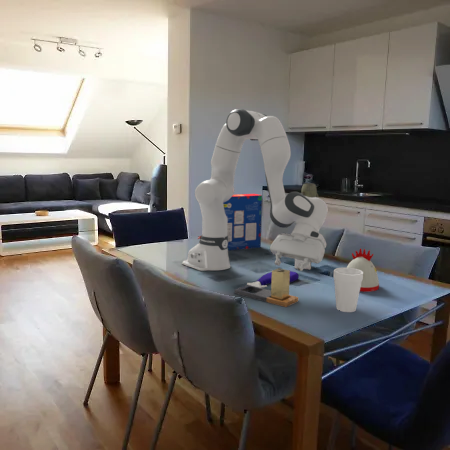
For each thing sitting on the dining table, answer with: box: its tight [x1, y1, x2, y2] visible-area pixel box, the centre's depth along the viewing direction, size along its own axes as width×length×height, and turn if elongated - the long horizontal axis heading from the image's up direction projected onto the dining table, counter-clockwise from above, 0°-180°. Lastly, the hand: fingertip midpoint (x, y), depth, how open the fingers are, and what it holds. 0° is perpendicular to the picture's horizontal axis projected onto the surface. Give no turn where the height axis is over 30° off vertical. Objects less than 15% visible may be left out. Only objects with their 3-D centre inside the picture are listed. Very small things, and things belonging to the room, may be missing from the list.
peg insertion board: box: [234, 284, 299, 308], centre depth 165 cm, size 22×8×2 cm, turn 51°
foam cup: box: [333, 267, 363, 313], centre depth 154 cm, size 10×9×13 cm
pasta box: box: [223, 193, 263, 252], centre depth 242 cm, size 28×8×28 cm, turn 117°
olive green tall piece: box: [300, 182, 319, 198], centre depth 237 cm, size 9×12×35 cm
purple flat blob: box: [246, 270, 300, 288], centre depth 184 cm, size 3×11×24 cm
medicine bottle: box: [294, 259, 312, 270], centre depth 207 cm, size 7×7×12 cm
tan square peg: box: [270, 268, 291, 301], centre depth 161 cm, size 4×4×11 cm
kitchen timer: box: [345, 248, 380, 293], centre depth 180 cm, size 14×14×15 cm
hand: (287, 267), depth 164 cm, fingers open, 8 cm apart
